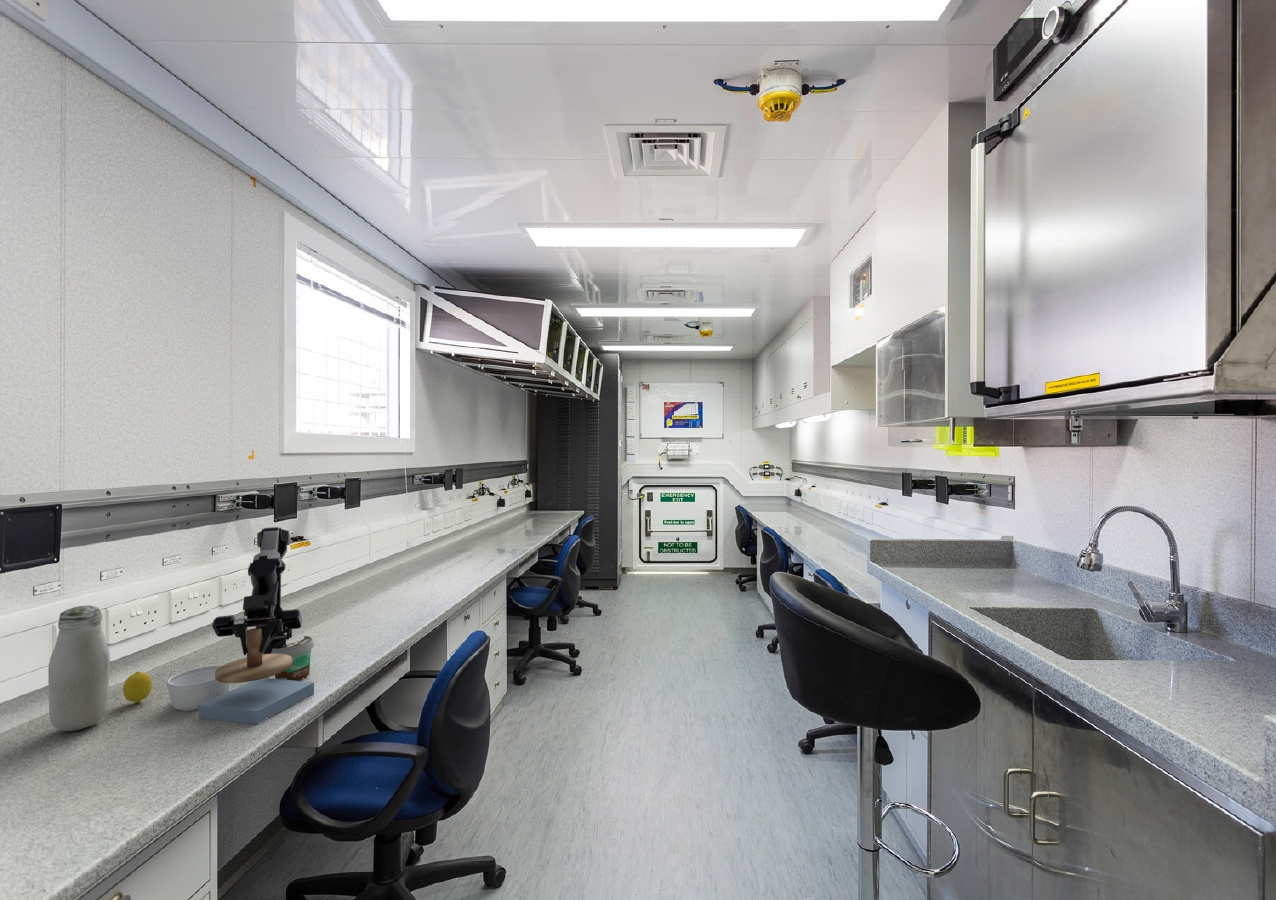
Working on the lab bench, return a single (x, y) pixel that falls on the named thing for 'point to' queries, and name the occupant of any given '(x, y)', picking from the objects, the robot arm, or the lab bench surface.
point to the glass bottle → (79, 670)
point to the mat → (256, 700)
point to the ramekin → (195, 687)
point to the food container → (296, 659)
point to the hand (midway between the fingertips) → (253, 653)
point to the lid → (253, 663)
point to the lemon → (137, 687)
